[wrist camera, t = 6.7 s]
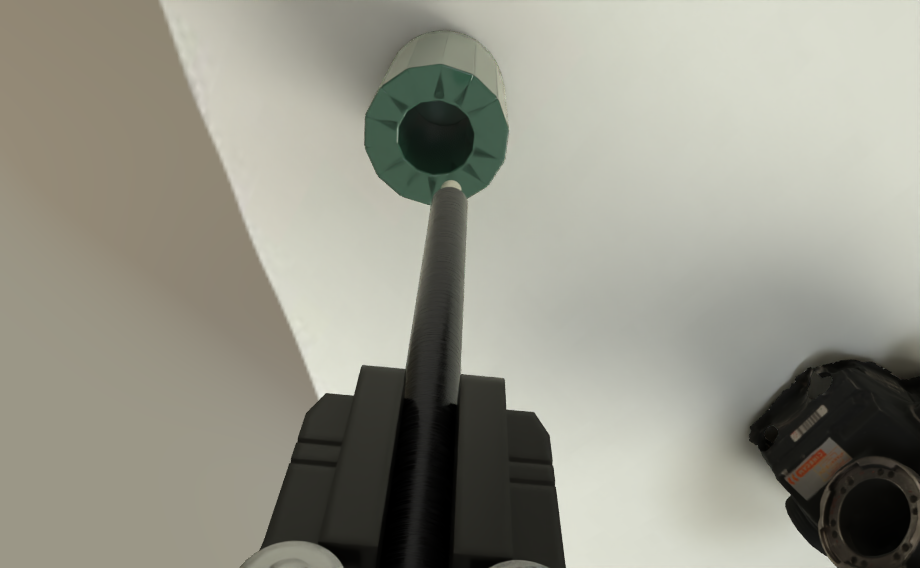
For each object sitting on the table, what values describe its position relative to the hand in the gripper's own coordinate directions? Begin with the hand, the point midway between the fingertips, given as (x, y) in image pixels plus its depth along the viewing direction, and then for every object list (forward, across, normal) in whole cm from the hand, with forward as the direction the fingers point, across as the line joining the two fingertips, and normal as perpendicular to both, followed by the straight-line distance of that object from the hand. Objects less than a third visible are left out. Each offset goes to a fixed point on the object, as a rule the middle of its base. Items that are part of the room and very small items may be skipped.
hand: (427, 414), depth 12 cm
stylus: (+10, 0, 0) cm, 10 cm away
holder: (+24, +1, +1) cm, 24 cm away
